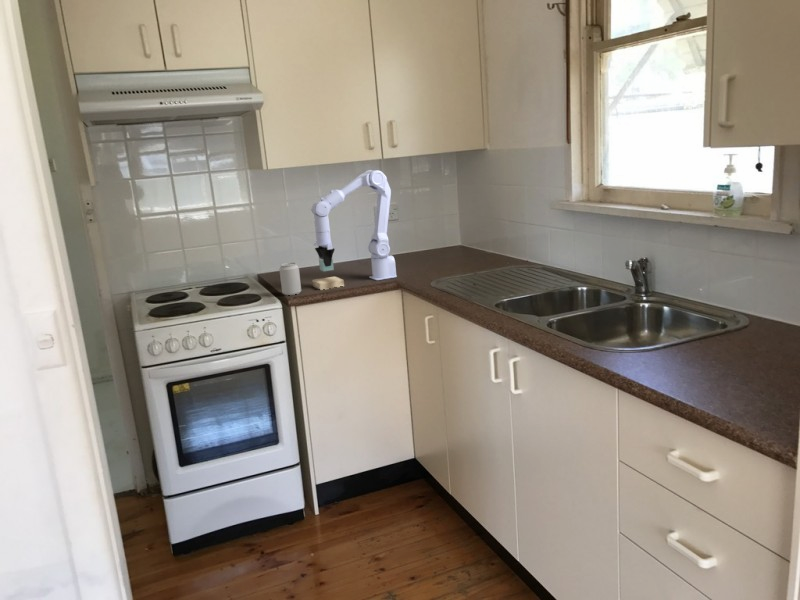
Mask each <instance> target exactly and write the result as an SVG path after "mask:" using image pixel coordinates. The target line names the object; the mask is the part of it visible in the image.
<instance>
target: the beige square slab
mask: <svg viewBox="0 0 800 600" xmlns="http://www.w3.org/2000/svg"><path fill="white" fill-rule="evenodd" d="M311 281H312V287H314V288H316V289H318V290H319V289H320V290H319V291H324V290H323V289H325V290H330V289H329V288H331V289H335V288H334V287H337V288H341V287H340V286H343V287H345V281H344V279H342V278H340V277H338V276H330V277H322V278H316V279H312V280H311Z"/></svg>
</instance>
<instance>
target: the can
mask: <svg viewBox="0 0 800 600" xmlns="http://www.w3.org/2000/svg"><path fill="white" fill-rule="evenodd" d="M297 264H298V263H297V262H286V263H285V262H284V263H281V264H280V267H279V268H278V269H279V277H280V285H281V293H282V294H283V295H284V296H288V295H290V296H296V295H295V294H297V295H299V294H300V293H301V292H302V285H301V276H300V267H299V265H297Z"/></svg>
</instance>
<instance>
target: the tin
mask: <svg viewBox="0 0 800 600" xmlns="http://www.w3.org/2000/svg"><path fill="white" fill-rule="evenodd" d="M318 263H319V264H318V265H319V270H320V271H321V272H329V271H335V270H334V269H335V268H334V258H333V257H332V262H331V266H327V267H326V266H325V263H324V259H323V257H320V258H319V257H318Z"/></svg>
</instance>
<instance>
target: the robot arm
mask: <svg viewBox="0 0 800 600" xmlns="http://www.w3.org/2000/svg"><path fill="white" fill-rule="evenodd" d="M361 187H369V188H371V189H373V191H374V192H375V193H376V194H377V201H376V209H375V218H374V219H375V221H374V230H373V233H372V235H371V239H370V242H369V243H368V247H367V249H368V251H369V252H370V254H371V255H370V259H371V271H372V272H371V273H372V275H371V276H369V279H372V280H375V281H380V280H388V279H393V278H397V277H398V275H397V268H396V260H395V257H394V256H393V255H389V254H390V252H391V247H390V245H389V244H390V243H389V237H388V234H387V233H388V224H389V218H390V217H389V215H390V207H391V198H392V197H391V196H392V189H391V187H390V184H389V182H388V178H387V176H386V175H385V173H384V172H382V171H381V170H378V169H377V170H373V169H369V170H366V171H365V172H363V173H360V174H359V175H358V176H356V177H355V178H354V179H352V180H351V181H350V182H348V183H347V184H346V185H345V186H343V187H342V188H340V189H331V190H329V193H328V194H327V195H325V196H322V197H320V198H319V199H320V200H316V201H315V202H313V203H312V207H311V208H310V210H311V212H312V214H313V215H314V217H313V219H314V229H315V238H316V241H315V242H316V243H313V246H315V248H314V250H315V252H316V254H317V255H318V259H319V258H320V257H323V259H324V263H325V266H326V267H327V266H331V262H332V258H333V254H334V252H335V249H336V248H333V243H332V238H331V237H332V236H331V227H330V220H329V214H330V212H331V211H332V210H333V209H335V208H337V207H338V206H340V205H341V204H342V203H344V202H345V197H347V196H349V195H351V193H354V192H356V190H358V189H359V188H361Z"/></svg>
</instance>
